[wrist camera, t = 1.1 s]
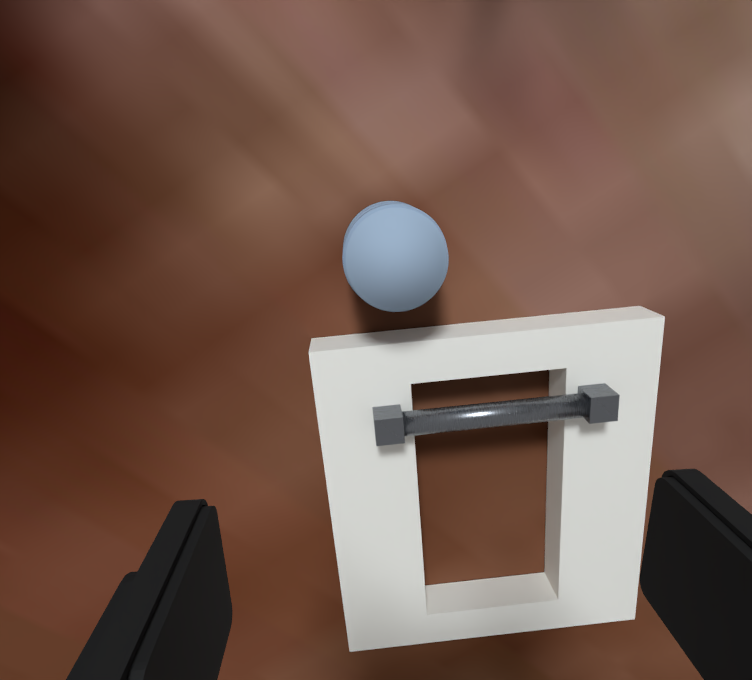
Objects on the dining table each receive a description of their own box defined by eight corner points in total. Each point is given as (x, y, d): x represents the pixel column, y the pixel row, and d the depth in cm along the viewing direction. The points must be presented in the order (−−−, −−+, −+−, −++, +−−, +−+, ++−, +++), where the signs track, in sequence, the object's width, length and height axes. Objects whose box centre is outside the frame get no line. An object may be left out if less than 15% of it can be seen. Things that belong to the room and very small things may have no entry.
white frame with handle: (640, 305, 30) (664, 316, 28) (616, 590, 37) (634, 619, 35) (311, 338, 30) (308, 352, 27) (349, 621, 37) (349, 651, 34)
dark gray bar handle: (604, 382, 29) (619, 394, 27) (602, 407, 30) (617, 420, 28) (372, 406, 29) (373, 420, 27) (374, 431, 29) (376, 446, 28)
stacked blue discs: (430, 195, 28) (449, 200, 22) (434, 285, 29) (453, 309, 24) (338, 204, 28) (336, 210, 22) (348, 294, 29) (348, 319, 24)
